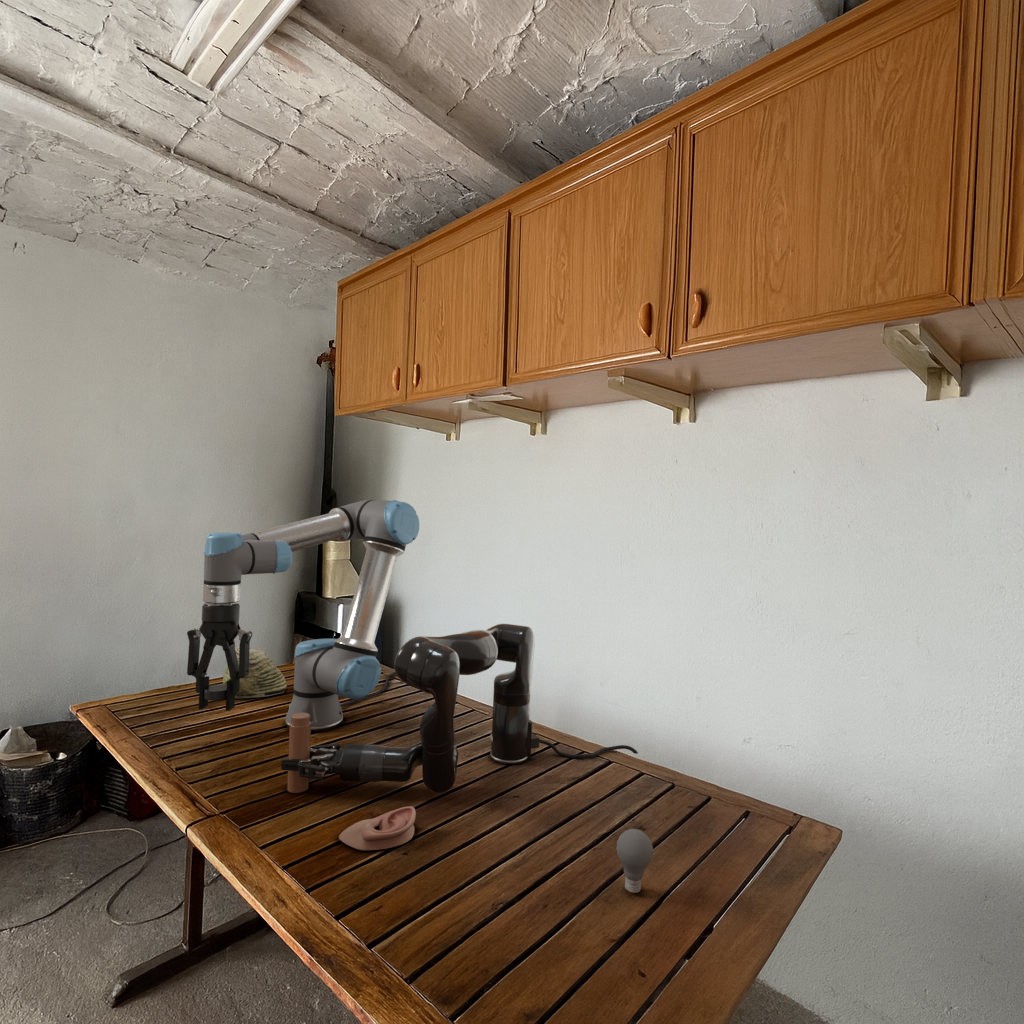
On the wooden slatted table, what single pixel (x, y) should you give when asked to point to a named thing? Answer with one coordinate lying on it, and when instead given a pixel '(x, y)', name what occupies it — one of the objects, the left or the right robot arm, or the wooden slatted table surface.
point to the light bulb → (634, 857)
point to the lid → (215, 692)
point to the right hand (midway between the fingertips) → (286, 759)
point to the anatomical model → (381, 830)
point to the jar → (299, 750)
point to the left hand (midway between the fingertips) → (216, 707)
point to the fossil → (259, 676)
